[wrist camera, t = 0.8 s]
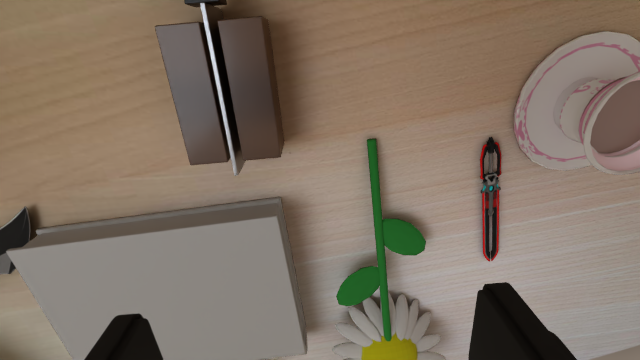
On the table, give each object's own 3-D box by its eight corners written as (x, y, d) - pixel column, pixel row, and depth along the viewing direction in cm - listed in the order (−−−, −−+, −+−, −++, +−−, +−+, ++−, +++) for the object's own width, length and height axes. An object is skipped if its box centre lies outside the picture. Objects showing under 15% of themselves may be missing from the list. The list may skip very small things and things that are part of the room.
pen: (480, 261, 35) (483, 265, 35) (478, 138, 30) (481, 140, 29) (498, 257, 35) (501, 261, 34) (499, 134, 30) (503, 136, 29)
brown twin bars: (148, -93, 22) (117, -119, 19) (252, -103, 22) (241, -130, 19) (204, 149, 29) (190, 165, 26) (284, 142, 29) (281, 157, 26)
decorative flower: (300, 144, 32) (335, 385, 40) (301, 153, 27) (340, 424, 35) (428, 126, 32) (436, 368, 40) (451, 132, 28) (455, 405, 36)
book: (5, 251, 28) (277, 216, 28) (38, 228, 32) (280, 196, 31) (90, 388, 36) (307, 362, 35) (109, 356, 39) (307, 332, 39)
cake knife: (182, -105, 22) (154, -139, 18) (215, -108, 22) (193, -142, 18) (234, 157, 30) (222, 176, 26) (258, 155, 30) (250, 174, 26)
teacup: (519, 185, 32) (564, 217, 26) (503, 63, 27) (554, 69, 22) (647, 143, 31) (725, 167, 25) (654, 7, 26) (750, -1, 20)
